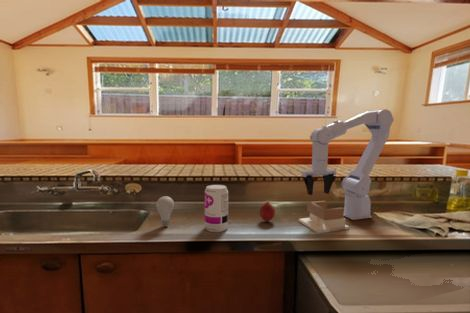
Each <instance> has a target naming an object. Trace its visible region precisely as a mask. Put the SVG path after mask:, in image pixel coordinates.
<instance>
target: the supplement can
mask: <svg viewBox="0 0 470 313" xmlns="http://www.w3.org/2000/svg"><path fill="white" fill-rule="evenodd" d="M228 227H229V190H228V188H227V186H226V185H225V184H210V185H209V184H208V185H207V186H206V187H205V189H204V229H206V231H208V232H210V233H222V232H225V231H226V230H227V229H228Z"/></svg>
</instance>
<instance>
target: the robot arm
mask: <svg viewBox="0 0 470 313" xmlns="http://www.w3.org/2000/svg"><path fill="white" fill-rule="evenodd" d="M394 120H395V119H394V117H393V114H392V112H391V110H389V109H381V110H368V111H365V112H362V113H359V114H357V115H356V116H353V117H351V118H349V119H347V120H344V121H342V120H337V119H335V120H333V121H332V122H331V123H330V124H327V125H326V124H325V125H322V128H316V129H313V130H312V132H311V134H310V136H309V139H310V141H311V143H312V150H311V151H312V152H311V153H312V154H311V155H312V156H311V169H310V170H309V169H308V170H302V171H301V178H302V180H303V181H304V184H305V187H306V191H307V194H308V195H310V196H312V195H313V193H314V192H313V191H314V184H315V180H316V179H315V178H314V177H317V176H318V177H319V176H321V177H322V179H323V193H324V194H327V195H328V194H330V191H331V187H332V185H333V184H334V182H335V181H336V179H337V176H336V175H337V170H335V169H328V158H329V156H328V154H329V143H330V142H331V141H332V140H333V139H334V140H335V138H338V137H341V136H344V135H345V134H346V133H347V132H348V131H347V130H350V129H352V128H355V127H358V126H360V125H363V124H364V126H365V127H366V128H367V130H368V131H369V133H371V138H370V140H368V144H367V145H366V147H365V150H364V151H363V153H362V155H361V157H360V159H359V161H358V163H357V165H356V167H355V169H353V170H352V171H350V172H349V173H348V174H347V175H346V176H345V178H343V180H342V181H341V187H342V189H343V190H344V207H343V208H344V217H346V218H348V219H351V220H354V221H355V220H362V219H363V220H364V219H369V218H372V216H371V204H372V202H371V198H370V196H369V195H367V194H369V192H370V187H371V183H372V179H371V178H370V174H371V172H372V170H373V168H374V166H375V164H376V163H377V161H378V159H379V156H380V154H381V153H382V150H383V149H384V147H385V145H386V143H387V141H388V138H389V137H390V131H391V127H392V125H393V122H395V121H394Z"/></svg>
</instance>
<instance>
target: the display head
mask: <svg viewBox="0 0 470 313" xmlns="http://www.w3.org/2000/svg"><path fill="white" fill-rule="evenodd" d="M346 220H347V219H346V218H345V217H343V218H339V219H331V220H323V219H321V218H319V217H317V216H315V215H314V214H312V213H310V212H309V217H303V218H298V222H299V223H301V224H303V225H304V226H306V227H307V228H308V229H310V230H312V231H314V232H315V233H316V234H322V233H323V234H324V233H331V232H332V233H333V232H337V231H346V230H350V226H349V225H347V224H346Z"/></svg>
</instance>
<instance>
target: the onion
mask: <svg viewBox="0 0 470 313" xmlns="http://www.w3.org/2000/svg"><path fill="white" fill-rule="evenodd" d="M275 212H276V210H275V208H274V206H273V205H272V204H270V201H268V200H266V201H265V203H264V204H262V205H261V207H260V208H259V212H258V213H259V216H260V218H261V219H262V220H263V221H264V222H266V223H269V222H270V221H271V220H272V219H273V218H274V217H275V215H276V213H275Z"/></svg>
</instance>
